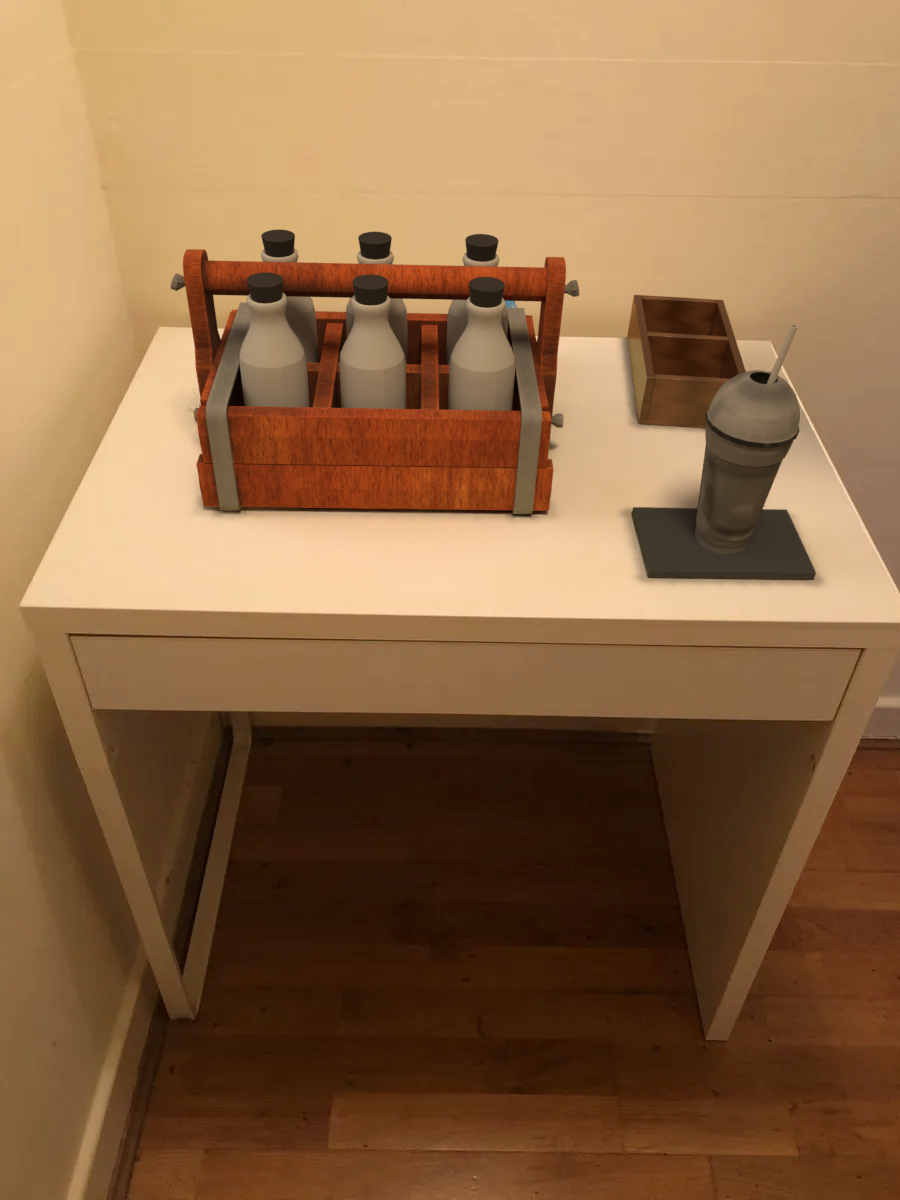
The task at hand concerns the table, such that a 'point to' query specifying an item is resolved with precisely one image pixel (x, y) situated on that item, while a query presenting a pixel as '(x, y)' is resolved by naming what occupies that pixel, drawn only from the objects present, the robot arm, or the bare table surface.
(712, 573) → the mat
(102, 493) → the table surface
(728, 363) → the wooden compartment box
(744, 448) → the beverage cup
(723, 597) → the table surface
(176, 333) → the table surface
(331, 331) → the milk bottle holder
